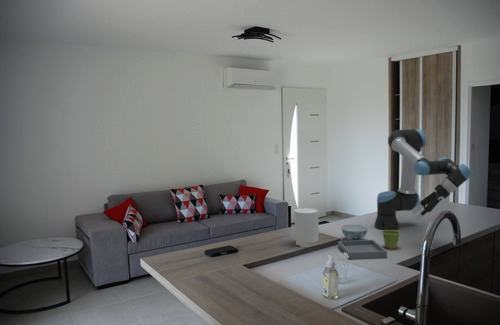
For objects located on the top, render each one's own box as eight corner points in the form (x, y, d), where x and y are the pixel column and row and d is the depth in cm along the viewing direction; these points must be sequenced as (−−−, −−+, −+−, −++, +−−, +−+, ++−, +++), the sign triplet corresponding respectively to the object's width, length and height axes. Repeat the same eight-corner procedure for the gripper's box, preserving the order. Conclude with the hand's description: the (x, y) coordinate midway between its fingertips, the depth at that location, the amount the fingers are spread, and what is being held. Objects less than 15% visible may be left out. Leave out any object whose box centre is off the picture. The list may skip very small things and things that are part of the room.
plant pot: (401, 250, 209) (401, 234, 209) (383, 249, 211) (383, 234, 210) (398, 245, 219) (398, 230, 218) (381, 244, 220) (381, 229, 220)
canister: (304, 249, 217) (303, 214, 214) (290, 242, 228) (290, 209, 226) (323, 245, 223) (322, 211, 221) (309, 239, 235) (308, 206, 233)
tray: (338, 247, 218) (338, 241, 218) (373, 245, 219) (373, 239, 218) (348, 259, 198) (348, 252, 198) (386, 257, 199) (386, 251, 198)
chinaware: (338, 242, 226) (338, 229, 225) (344, 235, 239) (344, 223, 239) (364, 245, 219) (364, 232, 218) (369, 238, 232) (369, 225, 232)
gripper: (456, 197, 191) (423, 226, 197) (445, 189, 215) (416, 215, 221) (444, 187, 192) (412, 215, 198) (435, 180, 216) (406, 206, 222)
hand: (414, 215), depth 209 cm, fingers open, 13 cm apart
